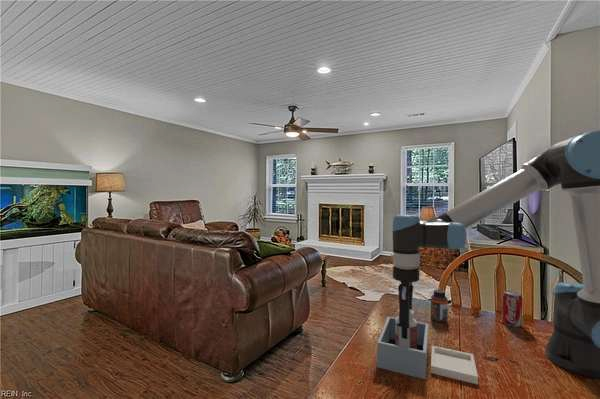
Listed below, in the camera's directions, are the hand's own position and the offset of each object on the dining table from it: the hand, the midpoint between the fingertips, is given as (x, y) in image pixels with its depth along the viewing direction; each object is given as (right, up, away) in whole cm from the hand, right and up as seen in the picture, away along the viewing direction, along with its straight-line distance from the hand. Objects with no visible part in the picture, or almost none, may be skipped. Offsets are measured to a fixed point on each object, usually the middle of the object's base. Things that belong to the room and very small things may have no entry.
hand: (406, 342), depth 88 cm
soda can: (+48, -4, +23) cm, 54 cm away
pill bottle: (0, -2, 0) cm, 2 cm away
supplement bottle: (+22, -4, +26) cm, 35 cm away
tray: (+11, -4, -5) cm, 13 cm away
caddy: (-1, -4, 0) cm, 4 cm away
